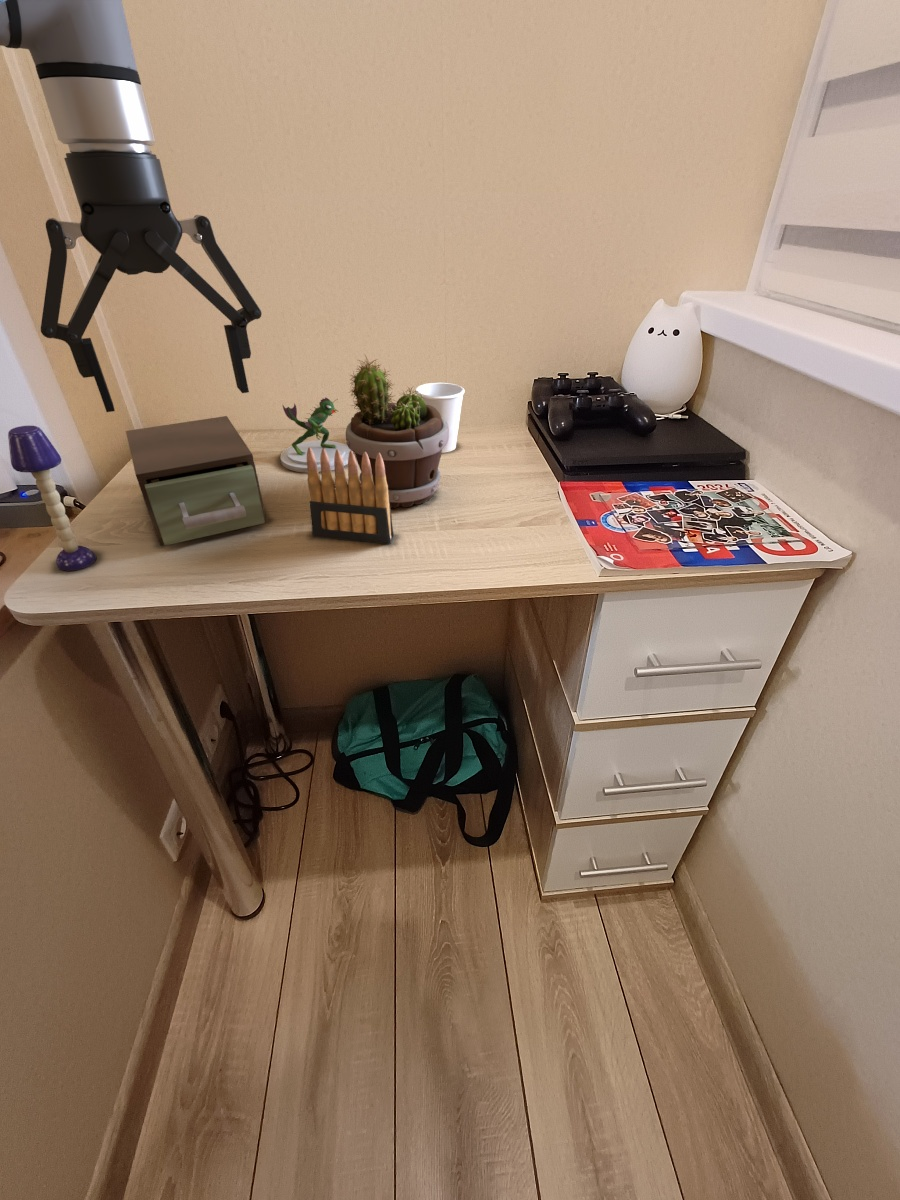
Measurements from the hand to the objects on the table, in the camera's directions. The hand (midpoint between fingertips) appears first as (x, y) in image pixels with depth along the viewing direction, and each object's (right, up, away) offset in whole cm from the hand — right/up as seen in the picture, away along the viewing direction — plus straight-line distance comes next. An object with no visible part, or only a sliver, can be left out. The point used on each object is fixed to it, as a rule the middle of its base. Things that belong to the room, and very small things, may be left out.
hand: (179, 398), depth 62 cm
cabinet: (-6, -9, +20) cm, 23 cm away
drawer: (-3, -11, +16) cm, 19 cm away
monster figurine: (+7, +2, +35) cm, 36 cm away
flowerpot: (+22, -6, +25) cm, 33 cm away
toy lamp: (-16, -17, +9) cm, 25 cm away
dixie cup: (+28, +5, +40) cm, 49 cm away
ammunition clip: (+17, -14, +14) cm, 26 cm away
